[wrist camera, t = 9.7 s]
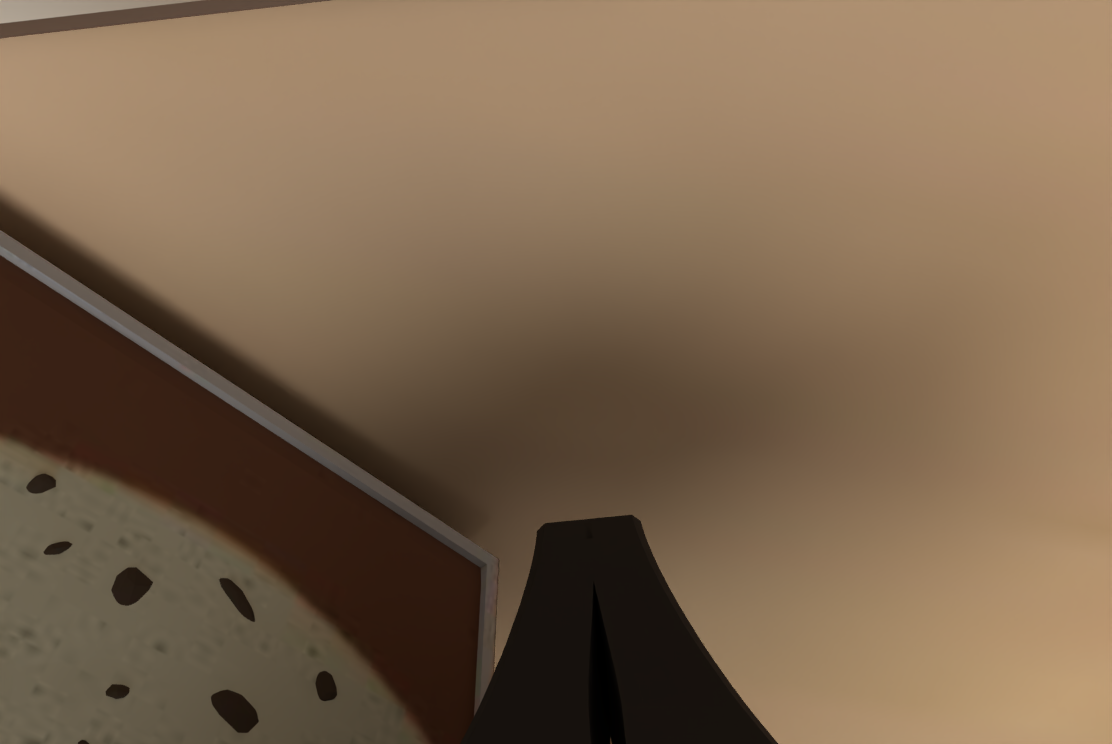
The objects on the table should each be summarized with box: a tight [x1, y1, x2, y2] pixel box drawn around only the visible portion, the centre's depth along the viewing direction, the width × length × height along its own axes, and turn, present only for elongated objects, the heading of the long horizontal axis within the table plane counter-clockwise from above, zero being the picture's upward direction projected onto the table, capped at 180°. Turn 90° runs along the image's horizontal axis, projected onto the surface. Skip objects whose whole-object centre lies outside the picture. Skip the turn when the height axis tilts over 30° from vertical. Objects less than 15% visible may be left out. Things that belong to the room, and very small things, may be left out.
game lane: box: [0, 0, 612, 744], centre depth 16 cm, size 18×20×1 cm
